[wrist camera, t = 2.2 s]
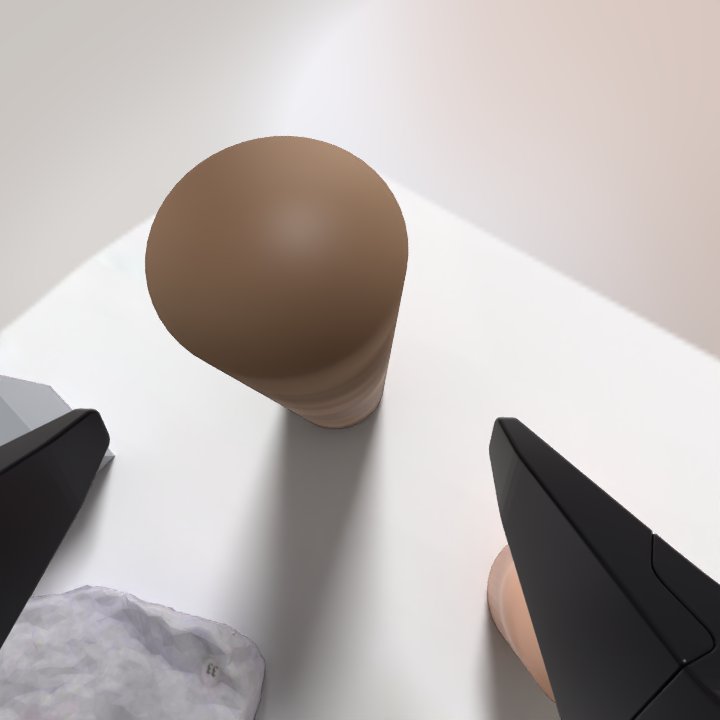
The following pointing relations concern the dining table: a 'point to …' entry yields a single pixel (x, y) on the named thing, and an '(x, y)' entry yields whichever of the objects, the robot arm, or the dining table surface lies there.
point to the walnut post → (284, 273)
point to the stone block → (124, 662)
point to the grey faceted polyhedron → (30, 409)
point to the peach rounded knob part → (515, 617)
